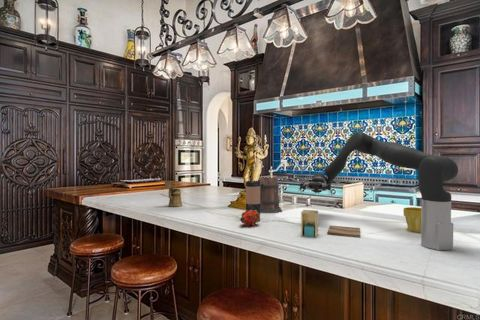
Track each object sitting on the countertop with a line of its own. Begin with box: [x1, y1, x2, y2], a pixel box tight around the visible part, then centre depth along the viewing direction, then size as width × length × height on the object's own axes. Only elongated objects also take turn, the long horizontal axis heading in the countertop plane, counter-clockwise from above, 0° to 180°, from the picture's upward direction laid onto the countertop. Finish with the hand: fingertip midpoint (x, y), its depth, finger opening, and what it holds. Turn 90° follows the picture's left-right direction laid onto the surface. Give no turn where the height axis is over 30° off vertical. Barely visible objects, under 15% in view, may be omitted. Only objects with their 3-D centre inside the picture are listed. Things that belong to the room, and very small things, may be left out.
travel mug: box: [245, 180, 261, 221], centre depth 157 cm, size 8×8×20 cm
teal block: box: [303, 224, 315, 238], centre depth 127 cm, size 4×4×4 cm
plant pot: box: [403, 206, 421, 233], centre depth 134 cm, size 10×10×10 cm
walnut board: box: [326, 225, 361, 238], centre depth 131 cm, size 13×13×1 cm
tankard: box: [259, 176, 283, 214], centre depth 179 cm, size 24×17×20 cm
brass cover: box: [300, 209, 319, 238], centre depth 127 cm, size 6×6×10 cm
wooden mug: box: [163, 179, 183, 208], centre depth 195 cm, size 9×14×18 cm, turn 151°
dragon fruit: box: [240, 209, 261, 227], centre depth 143 cm, size 8×8×12 cm
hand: (313, 187), depth 137 cm, fingers open, 8 cm apart
